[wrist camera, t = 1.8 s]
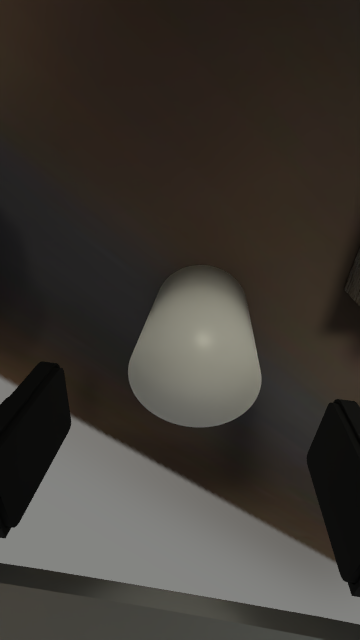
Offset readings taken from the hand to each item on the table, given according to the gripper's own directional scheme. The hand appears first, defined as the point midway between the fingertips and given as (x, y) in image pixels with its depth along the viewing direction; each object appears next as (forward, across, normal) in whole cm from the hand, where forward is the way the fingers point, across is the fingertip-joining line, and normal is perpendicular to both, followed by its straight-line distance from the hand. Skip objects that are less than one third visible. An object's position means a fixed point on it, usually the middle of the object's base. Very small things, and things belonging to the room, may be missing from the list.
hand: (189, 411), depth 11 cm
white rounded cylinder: (+7, 0, -1) cm, 7 cm away
